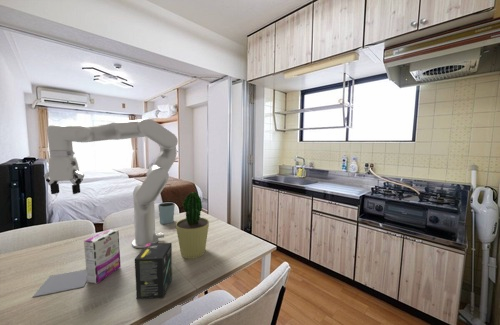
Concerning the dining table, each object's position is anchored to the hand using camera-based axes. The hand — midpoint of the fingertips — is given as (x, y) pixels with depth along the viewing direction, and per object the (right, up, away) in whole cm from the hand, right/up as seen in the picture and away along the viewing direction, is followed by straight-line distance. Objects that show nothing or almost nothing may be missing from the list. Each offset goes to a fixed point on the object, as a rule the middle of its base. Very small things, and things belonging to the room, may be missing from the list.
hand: (66, 193), depth 91 cm
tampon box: (+46, -32, -16) cm, 59 cm away
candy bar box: (+23, -31, -8) cm, 40 cm away
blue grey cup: (+25, -26, +49) cm, 61 cm away
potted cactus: (+53, -30, +10) cm, 62 cm away
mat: (+12, -31, -13) cm, 36 cm away
